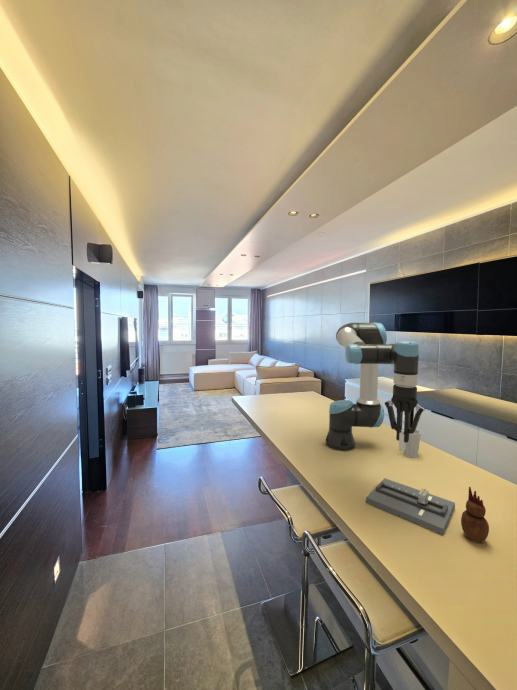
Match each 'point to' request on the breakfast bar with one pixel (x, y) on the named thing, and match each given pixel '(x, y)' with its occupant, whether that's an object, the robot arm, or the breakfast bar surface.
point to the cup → (413, 444)
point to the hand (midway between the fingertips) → (402, 449)
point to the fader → (423, 497)
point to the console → (412, 505)
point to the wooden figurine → (475, 519)
